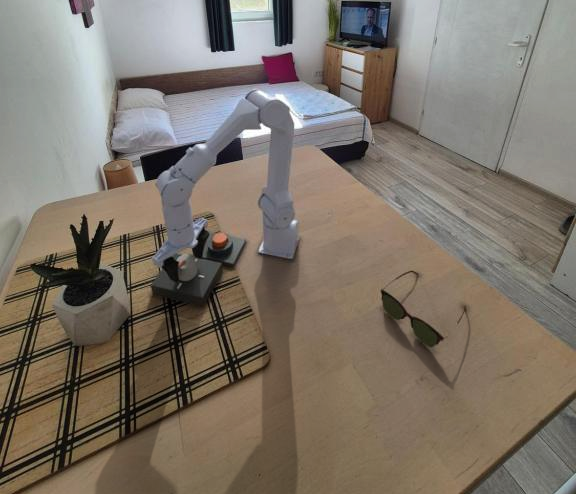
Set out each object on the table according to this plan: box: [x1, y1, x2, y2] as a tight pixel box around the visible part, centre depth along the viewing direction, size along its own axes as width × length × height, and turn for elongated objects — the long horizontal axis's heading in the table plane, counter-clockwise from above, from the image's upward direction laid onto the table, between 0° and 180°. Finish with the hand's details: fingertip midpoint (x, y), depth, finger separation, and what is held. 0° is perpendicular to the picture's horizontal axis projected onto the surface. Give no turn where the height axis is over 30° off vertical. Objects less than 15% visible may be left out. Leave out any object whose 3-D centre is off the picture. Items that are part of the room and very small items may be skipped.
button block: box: [193, 231, 247, 268], centre depth 87 cm, size 11×9×3 cm
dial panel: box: [150, 253, 224, 308], centre depth 77 cm, size 13×10×3 cm
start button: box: [213, 232, 227, 248], centre depth 86 cm, size 4×4×2 cm
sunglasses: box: [380, 270, 467, 348], centre depth 72 cm, size 14×15×5 cm
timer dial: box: [177, 253, 197, 281], centre depth 76 cm, size 4×4×4 cm
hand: (186, 267), depth 76 cm, fingers open, 7 cm apart
